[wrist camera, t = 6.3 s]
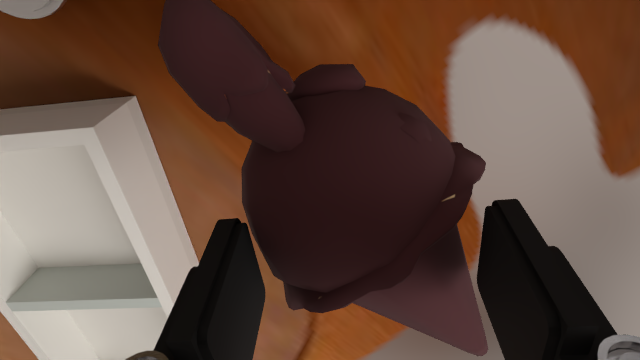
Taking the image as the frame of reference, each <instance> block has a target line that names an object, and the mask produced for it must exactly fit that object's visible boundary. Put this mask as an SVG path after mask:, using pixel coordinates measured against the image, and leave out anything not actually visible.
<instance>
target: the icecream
mask: <svg viewBox="0 0 640 360" xmlns="http://www.w3.org/2000/svg"><path fill="white" fill-rule="evenodd" d="M158 46H159V49H160V51H161V54H162V56H163V59H164V61H165V64H166V66H167V69H168V71H169V73H170V75H171V76H172V77H173V78H174V79H175V80H176V81H177V83H178V84H179V85H180V86H181V87H182V88H183V89H184V91H185V92H186V93H187V94H188V95H189V96H190V97H191V99H192V100H193V101H194V102H195V103H196V104H197V105H198V106H199V107H200V108H201V109H202V110H203V111H205V112H206V113H207V114H209V115H210V116H211V117H212V118H214V119H215V120H216V121H222V122H226V123H227V124H228V125H229V126H231V127H232V128H233V129H234V130H235V131H236V132H237V133H239V134H241V135H243V136H245V137H247V138H249V139H251V140H253V141H252V143H251V146H250V148H249V151H248V153H247V156H246V158H245V161H244V163H243V166H242V204H243V207H244V210H245V213H246V216H247V219H248V222H249V225H250V228H251V231H252V234H253V236H254V238H255V240H256V242H257V244H258V246H259V248H260V250H261V252H262V254H263V256H264V258H265V260H266V262H267V263H268V265H269V267H270V269H271V271H272V273H273V275H274V276H275V277H277V278H278V279H280V280H282V281H283V282H284V289H285V297H286V302H287V304H288V307H289V308H291V309H292V310H297V309H303V308H304V309H306V310H308V311H310V312H317V313H325V312H329V311H332V310H336V309H340V308H344V307H346V306H348V305H349V304H351V303H354V304H356V305H359V306H361V307H363V308H366V309H368V310H371V311H373V312H375V313H378V314H380V315H382V316H385V317H387V318H389V319H392V320H394V321H396V322H399V323H401V324H403V325H406V326H408V327H410V328H413V329H415V330H417V331H420V332H422V333H425V334H427V335H429V336H431V337H434V338H436V339H438V340H441V341H443V342H445V343H448V344H450V345H452V346H454V347H457V348H459V349H461V350H464V351H466V352H468V353H471V354H474V355H477V356H483V355H484V354H486V353H487V350H488V346H487V340H486V336H485V332H484V328H483V324H482V320H481V317H480V313H479V309H478V305H477V302H476V298H475V294H474V290H473V286H472V282H471V278H470V274H469V270H468V266H467V262H466V258H465V254H464V250H463V246H462V242H461V239H460V235H459V231H458V227H457V223H458V221H459V220H460V219H461V217H462V216H463V214H464V212H465V210H466V207H467V205H468V202H469V200H470V197H471V195H472V189H473V184H475V183H476V182H477V181H479V180H480V178H481V176H482V174H483V172H484V170H485V165H486V163H485V161H484V160H483V159H482V158H481V157H480V156H479V155H477V154H475V153H473V152H471V151H469V150H468V149H466V148H464V147H463V145H462V143H458V142H451V143H450V141H449V140H448V139H447V137H446V136H445V135H444V134H443V133H442V132H441V131H440V130H439V129H438V127H437V126H436V125H435V124H434V123H433V122H432V121H431V120H430V119H429V118H428V117H427V116H426V115H425V114H424V113H423V112H422V111H421V110H420V109H419V108H418V107H417V106H416V105H415V104H413V103H411V102H409V101H407V100H405V99H403V98H401V97H399V96H397V95H395V94H393V93H391V92H389V91H387V90H385V89H381V88H375V87H369V86H365V82H366V81H365V80H364V78H363V77H362V76H361V74H360V73H359V72H358V70H357V69H356V68H355V66H354V65H353V64H330V65H318V66H316V67H314V68H312V69H310V70H308V71H306V72H304V73H302V74H301V75H299V77H298V78H297V79H296V80H295V81H294V82H293V80H292V79H291V77H290V75H289V73H288V72H287V71H286V70H284V69H283V68H281V67H280V66H278V65H277V64H275V63H274V62H273V61H272V60H271V59H270V57H269V56H268V54H267V53H266V52H265V50H264V49H263V47H262V46H261V45H260V44H259V43H258V42H257V41H256V40H255V39H254V38H253V37H252V36H251V35H250V34H249V33H248V31H247V30H246V29H245V28H244V27H243V26H242V25H241V24H240V23H239V22H238V21H237V20H236V19H235V18H233V17H232V16H230V15H229V14H227V13H226V12H224V11H223V10H221V9H220V8H218V7H217V6H216V5H215V4H214V3H213V2H212V1H210V0H166V1H165V5H164V10H163V16H162V22H161V29H160V36H159V42H158Z"/></svg>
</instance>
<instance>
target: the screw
mask: <svg viewBox="0 0 640 360" xmlns="http://www.w3.org/2000/svg"><path fill="white" fill-rule="evenodd" d="M66 1H67V0H0V10H1V11H3V12H5V13H7V14H10V15H12V16H15V17H20V18H25V19H36V18H43V17H46V16H49V15H52V14H54V13H56V12H57V11H58V10H60V9H61V8H62V7H63V6H64V4H65V3H66Z"/></svg>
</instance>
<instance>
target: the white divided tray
mask: <svg viewBox="0 0 640 360" xmlns="http://www.w3.org/2000/svg"><path fill="white" fill-rule="evenodd" d="M198 265H199V262H198V259H197V257H196V254H195V252H194V249H193V246H192V244H191V241H190V238H189V236H188V233H187V230H186V228H185V225H184V222H183V220H182V217H181V215H180V212H179V209H178V207H177V204H176V201H175V199H174V196H173V193H172V191H171V188H170V186H169V183H168V180H167V178H166V175H165V172H164V170H163V167H162V164H161V162H160V159H159V156H158V154H157V151H156V149H155V146H154V143H153V141H152V138H151V135H150V133H149V130H148V127H147V125H146V122H145V120H144V117H143V114H142V112H141V109H140V106H139V104H138V101H137V98H136V96H129V97H119V98H109V99H99V100H89V101H79V102H69V103H59V104H49V105H39V106H29V107H19V108H9V109H0V311H1V313H2V314H3V315H4V316H5V318H6V319H7V320H8V321H9V323H10V324H11V325H12V326H13V328H14V329H15V330H16V331H17V333H18V334H19V335H20V336H21V338H22V339H23V340H24V341H25V343H26V344H27V345H28V346H29V348H30V349H31V350H32V351H33V353H34V354H35V355H36V356H37V358H38V359H39V360H126V359H127V358H129V357H131V356H133V355H135V354H137V353H140V352H144V351H153V350H154V348H155V346H156V343H157V341H158V339H159V337H160V335H161V332H162V330H163V328H164V326H165V323H166V321H167V319H168V317H169V315H170V312H171V310H172V308H173V306H174V303H175V301H176V299H177V297H178V295H179V292H180V290H181V288H182V286H183V283H184V281H185V279H186V277H187V275H188V273H189V271H190V269H191V268H193V267H195V266H198Z"/></svg>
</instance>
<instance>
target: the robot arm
mask: <svg viewBox="0 0 640 360" xmlns="http://www.w3.org/2000/svg"><path fill="white" fill-rule="evenodd" d="M477 284H478V289H479V292H480V294H481V297H482V300H483V302H484V305H485V308H486V310H487V313H488V316H489V318H490V321H491V323H492V326H493V329H494V332H495V334H496V337H497V339H498V342H499V345H500V348H501V350H502V353H503V355H504V358H505V360H640V337H637V336H630V335H617V333H616V332H615V330H614V329H613V327H612V326H611V324H610V323H609V321H608V320H607V318H606V317H605V315H604V314H603V312H602V311H601V310H600V308H599V306H598V305H597V303H596V302H595V301H594V299H593V298H592V296H591V295H590V293H589V292H588V290H587V289H586V287H585V286H584V284H583V283H582V281H581V280H580V278H579V277H578V276H577V274H576V272H575V271H574V270H573V268H572V267H571V265H570V264H569V262H568V261H567V259H566V258H565V256H564V255H563V253H562V252H561V251H560V250H559V249H558V248H557V247H555V246H548V245H547V244H546V242H545V241H544V239H543V238H542V236H541V234H540V233H539V231H538V230H537V228H536V227H535V225H534V224H533V222H532V221H531V219H530V218H529V216H528V214H527V213H526V211H525V210H524V208H523V207H522V205H521V204H520V202H519V201H518V200H517V199H508V200H495V201H494V202H493V203H492V206H487V207H486V208H485V215H484V223H483V231H482V240H481V248H480V256H479V264H478V273H477ZM264 302H265V287H264V283H263V280H262V276H261V272H260V269H259V265H258V262H257V258H256V255H255V251H254V248H253V244H252V240H251V237H250V233H249V230H248V226H247V224H246V223H241V221H240V220H239V219H238V218H235V219H221V220H218V221H217V223H216V225H215V228H214V230H213V232H212V235H211V237H210V239H209V242H208V244H207V246H206V249H205V251H204V253H203V256H202V258H201V260H200V263H199V265H198V266H195V267H193V268H191V269H190V271H189V273H188V275H187V277H186V279H185V281H184V283H183V286H182V288H181V290H180V292H179V295H178V297H177V299H176V301H175V303H174V306H173V308H172V310H171V312H170V315H169V317H168V319H167V321H166V323H165V326H164V328H163V330H162V332H161V335H160V337H159V339H158V341H157V343H156V346H155V348H154V350H153V351H144V352H140V353H137V354H135V355H133V356H131V357H129V358H127V359H126V360H252V359H253V354H254V350H255V345H256V340H257V335H258V330H259V326H260V321H261V316H262V311H263V307H264Z"/></svg>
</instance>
